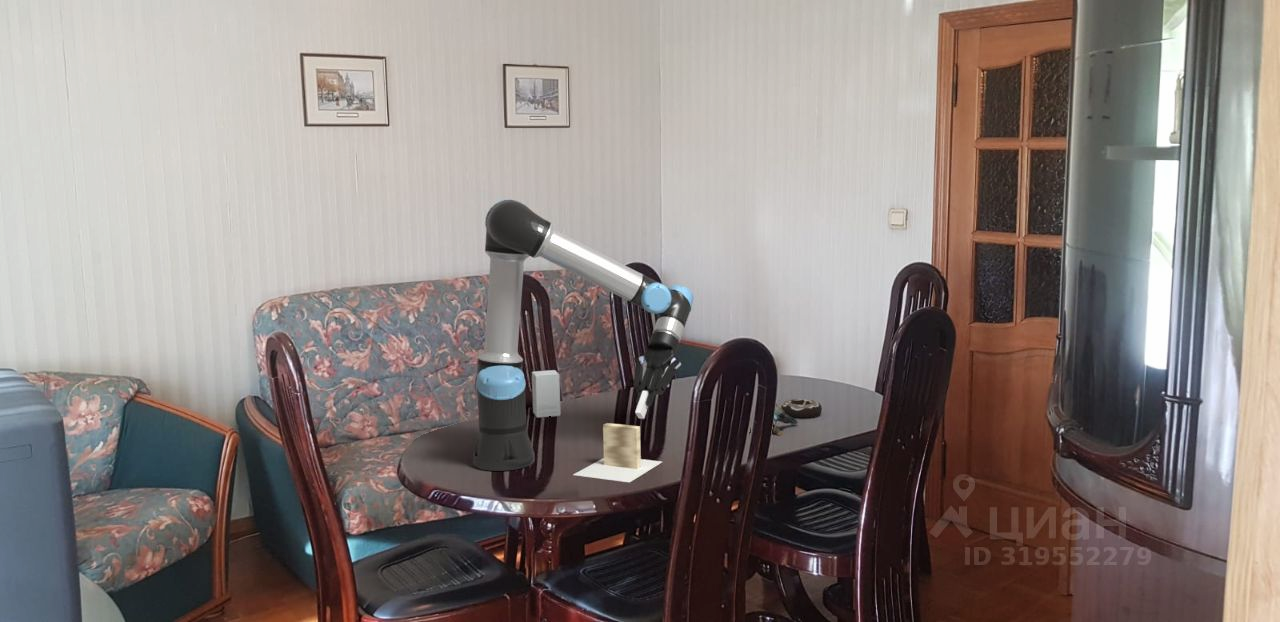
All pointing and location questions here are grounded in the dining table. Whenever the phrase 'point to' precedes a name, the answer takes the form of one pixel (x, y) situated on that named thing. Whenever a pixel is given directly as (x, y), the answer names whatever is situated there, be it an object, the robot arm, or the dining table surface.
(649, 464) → the rubber mat
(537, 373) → the supplement box
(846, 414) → the dining table surface
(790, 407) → the donut
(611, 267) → the robot arm
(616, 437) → the birch slab
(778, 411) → the bird figurine
